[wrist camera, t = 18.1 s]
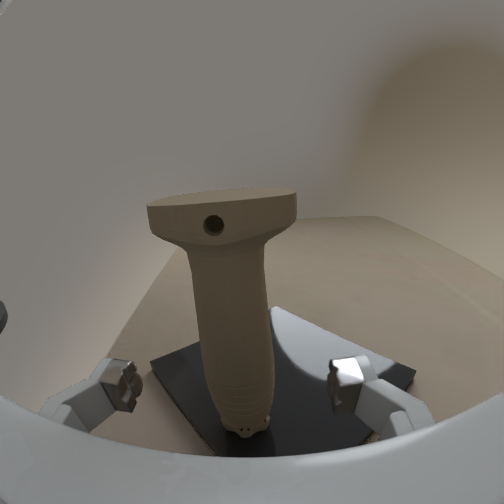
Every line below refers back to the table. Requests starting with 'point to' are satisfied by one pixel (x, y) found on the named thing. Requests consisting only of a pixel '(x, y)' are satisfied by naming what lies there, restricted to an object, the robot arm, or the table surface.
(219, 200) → the handle
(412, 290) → the table surface
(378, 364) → the dark grey square plate
